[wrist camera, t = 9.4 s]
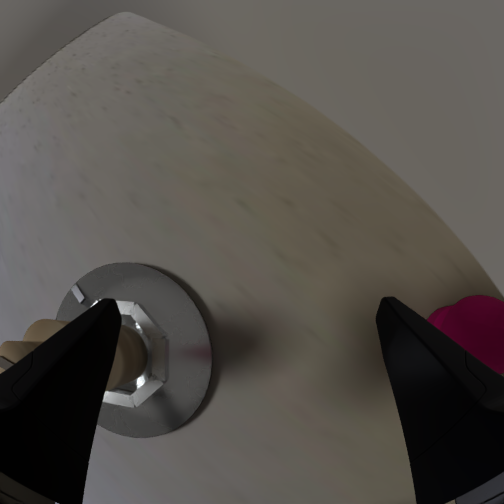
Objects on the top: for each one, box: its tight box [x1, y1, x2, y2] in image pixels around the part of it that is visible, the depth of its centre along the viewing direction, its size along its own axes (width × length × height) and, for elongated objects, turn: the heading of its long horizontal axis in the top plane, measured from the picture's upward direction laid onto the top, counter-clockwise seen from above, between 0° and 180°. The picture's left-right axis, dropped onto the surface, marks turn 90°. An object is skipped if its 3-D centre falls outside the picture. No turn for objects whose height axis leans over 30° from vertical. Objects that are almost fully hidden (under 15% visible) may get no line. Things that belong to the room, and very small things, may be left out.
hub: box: [56, 263, 213, 438], centre depth 21 cm, size 15×15×2 cm
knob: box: [0, 319, 148, 392], centre depth 15 cm, size 5×5×13 cm
